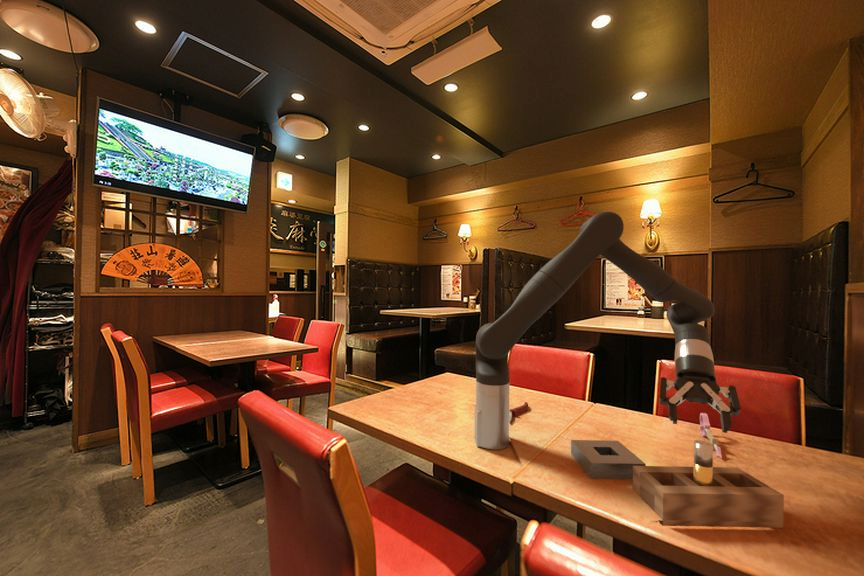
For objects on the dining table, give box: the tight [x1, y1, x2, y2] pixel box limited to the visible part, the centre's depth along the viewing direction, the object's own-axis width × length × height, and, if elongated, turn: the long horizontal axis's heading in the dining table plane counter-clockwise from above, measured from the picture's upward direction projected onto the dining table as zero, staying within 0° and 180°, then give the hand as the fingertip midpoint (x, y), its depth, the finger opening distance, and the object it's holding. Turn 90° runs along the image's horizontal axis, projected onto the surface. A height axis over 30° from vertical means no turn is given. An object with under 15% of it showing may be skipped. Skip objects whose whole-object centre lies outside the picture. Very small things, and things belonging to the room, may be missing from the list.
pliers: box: [509, 401, 529, 424], centre depth 123 cm, size 12×20×3 cm, turn 160°
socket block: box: [570, 439, 647, 481], centre depth 86 cm, size 12×12×4 cm
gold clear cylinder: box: [693, 439, 714, 486], centre depth 71 cm, size 3×3×12 cm
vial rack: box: [632, 465, 785, 529], centre depth 71 cm, size 22×10×6 cm, turn 90°
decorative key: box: [699, 412, 723, 459], centre depth 100 cm, size 7×1×20 cm
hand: (699, 426), depth 75 cm, fingers open, 8 cm apart
